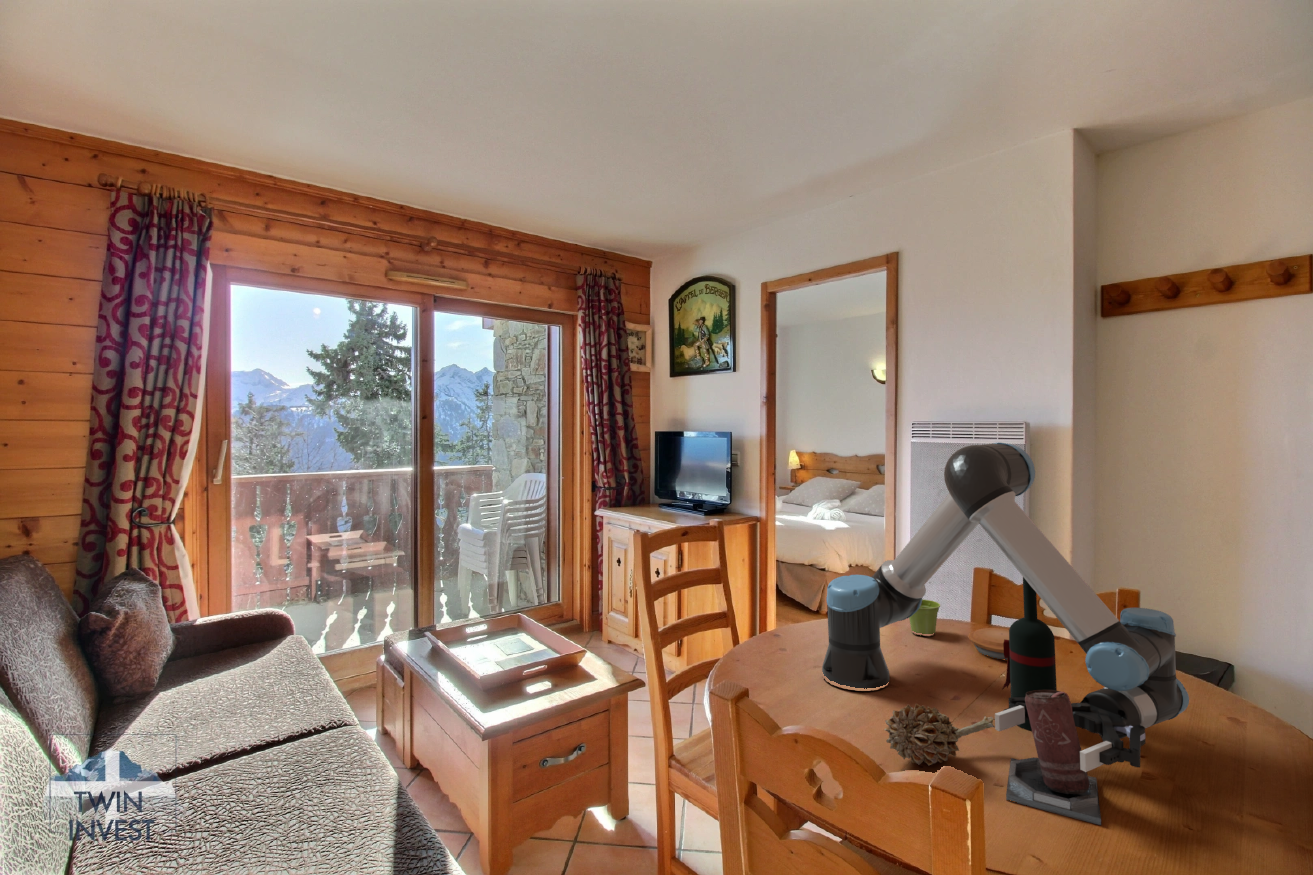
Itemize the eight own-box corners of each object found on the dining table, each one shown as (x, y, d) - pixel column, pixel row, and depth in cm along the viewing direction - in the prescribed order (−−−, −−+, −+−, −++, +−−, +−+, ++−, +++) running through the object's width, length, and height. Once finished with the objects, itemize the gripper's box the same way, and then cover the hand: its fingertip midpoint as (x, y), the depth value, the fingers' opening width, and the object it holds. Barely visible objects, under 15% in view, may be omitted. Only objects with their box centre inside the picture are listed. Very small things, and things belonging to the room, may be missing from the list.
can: (1101, 792, 91) (1076, 694, 94) (1058, 796, 91) (1034, 698, 94) (1078, 778, 97) (1055, 686, 100) (1037, 781, 97) (1016, 690, 100)
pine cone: (911, 785, 99) (909, 725, 99) (873, 756, 108) (871, 701, 108) (1012, 758, 106) (1010, 702, 106) (968, 733, 115) (966, 681, 115)
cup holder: (1006, 800, 94) (1005, 786, 94) (1011, 763, 104) (1010, 750, 104) (1101, 825, 87) (1100, 810, 87) (1096, 783, 97) (1096, 770, 97)
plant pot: (899, 629, 175) (898, 599, 175) (930, 627, 175) (929, 597, 175) (915, 640, 165) (914, 609, 165) (948, 638, 166) (947, 606, 166)
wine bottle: (1018, 706, 125) (1013, 562, 125) (1067, 727, 116) (1062, 572, 115) (991, 714, 122) (986, 567, 122) (1040, 736, 113) (1034, 577, 112)
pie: (981, 638, 165) (980, 620, 165) (1046, 652, 154) (1045, 632, 154) (959, 653, 155) (958, 634, 155) (1026, 669, 143) (1026, 649, 143)
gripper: (1208, 768, 92) (1126, 808, 83) (1045, 703, 115) (968, 729, 106) (1206, 719, 92) (1125, 754, 83) (1044, 664, 114) (966, 687, 106)
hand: (1036, 740), depth 94 cm, fingers open, 13 cm apart
